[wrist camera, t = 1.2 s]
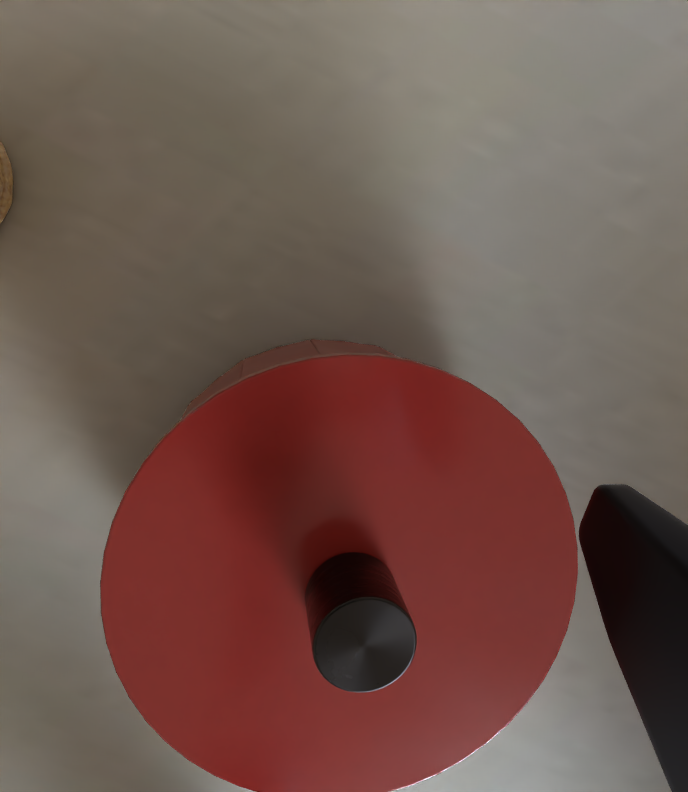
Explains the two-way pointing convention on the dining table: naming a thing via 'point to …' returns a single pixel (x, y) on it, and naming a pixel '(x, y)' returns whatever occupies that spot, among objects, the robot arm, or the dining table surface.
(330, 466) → the pot lid
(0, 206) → the sprinkles bottle
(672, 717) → the robot arm
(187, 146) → the dining table surface
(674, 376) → the dining table surface
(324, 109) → the dining table surface
